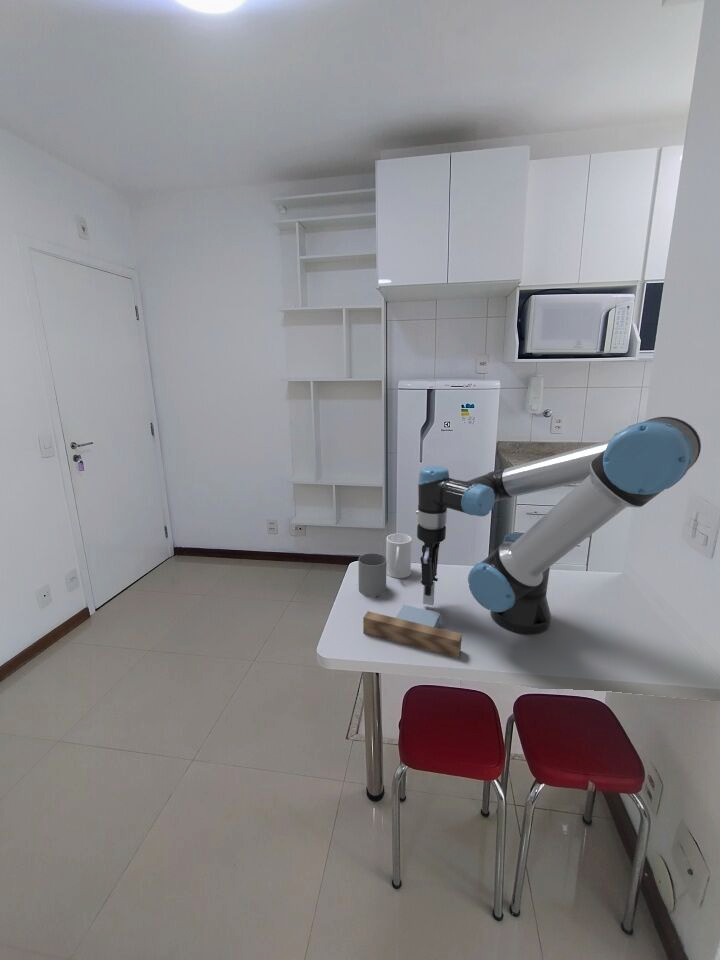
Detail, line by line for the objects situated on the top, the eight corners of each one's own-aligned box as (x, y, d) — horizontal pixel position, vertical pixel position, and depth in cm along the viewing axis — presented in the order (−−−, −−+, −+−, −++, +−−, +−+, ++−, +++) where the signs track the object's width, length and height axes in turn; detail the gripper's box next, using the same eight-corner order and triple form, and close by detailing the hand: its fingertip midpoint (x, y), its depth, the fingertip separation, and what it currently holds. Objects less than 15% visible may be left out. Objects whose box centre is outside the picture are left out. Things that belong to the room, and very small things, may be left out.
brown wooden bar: (460, 650, 101) (461, 633, 100) (458, 657, 99) (459, 641, 98) (367, 626, 111) (367, 611, 109) (363, 632, 108) (363, 617, 107)
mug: (408, 584, 131) (409, 549, 128) (381, 581, 133) (381, 546, 130) (412, 567, 142) (413, 534, 139) (387, 564, 144) (388, 532, 141)
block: (439, 624, 112) (440, 613, 111) (431, 642, 105) (432, 630, 104) (403, 615, 116) (403, 604, 115) (393, 632, 109) (393, 620, 108)
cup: (356, 595, 126) (356, 564, 123) (360, 581, 133) (360, 552, 131) (384, 597, 124) (385, 566, 122) (387, 583, 132) (388, 554, 129)
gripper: (423, 514, 120) (421, 589, 126) (411, 531, 108) (409, 612, 114) (450, 518, 117) (446, 594, 123) (440, 535, 105) (436, 618, 112)
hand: (428, 603), depth 119 cm, fingers closed
